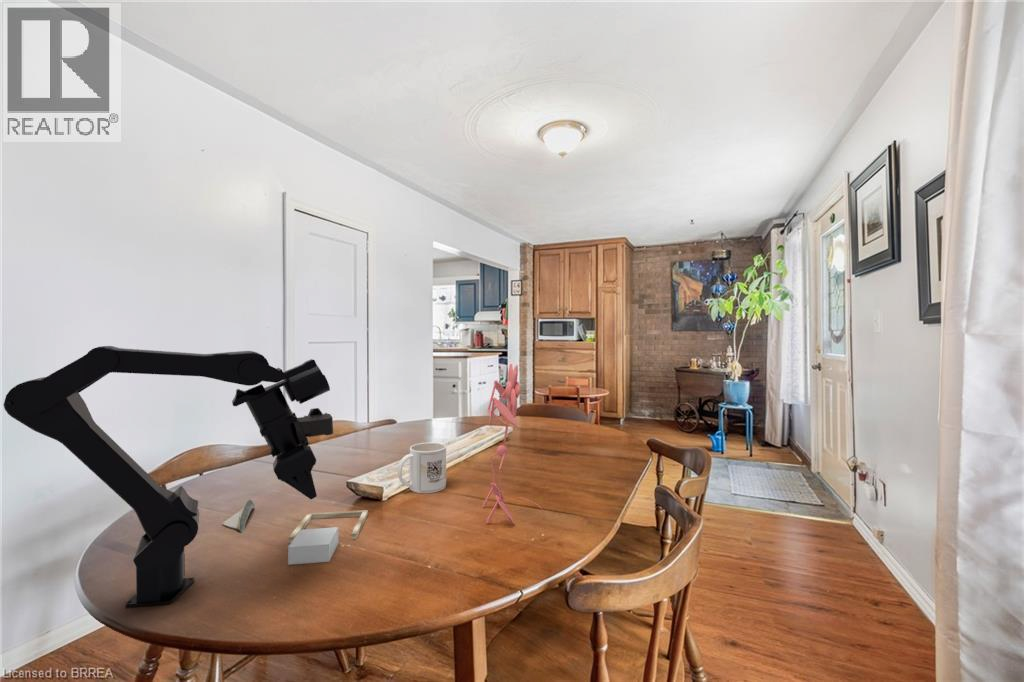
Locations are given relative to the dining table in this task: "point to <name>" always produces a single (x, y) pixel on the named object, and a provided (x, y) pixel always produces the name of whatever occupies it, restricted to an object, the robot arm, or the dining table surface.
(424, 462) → the mug
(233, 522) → the ceramic fragment
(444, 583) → the dining table surface
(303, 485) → the robot arm
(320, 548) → the pale blue eraser block
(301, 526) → the tile bay
